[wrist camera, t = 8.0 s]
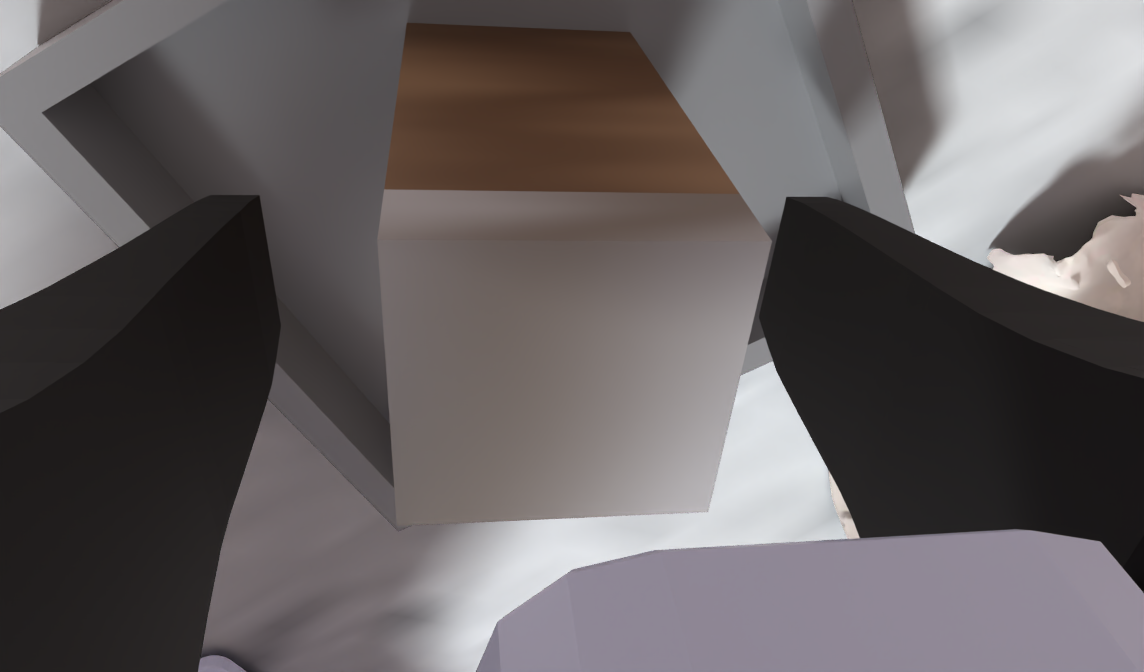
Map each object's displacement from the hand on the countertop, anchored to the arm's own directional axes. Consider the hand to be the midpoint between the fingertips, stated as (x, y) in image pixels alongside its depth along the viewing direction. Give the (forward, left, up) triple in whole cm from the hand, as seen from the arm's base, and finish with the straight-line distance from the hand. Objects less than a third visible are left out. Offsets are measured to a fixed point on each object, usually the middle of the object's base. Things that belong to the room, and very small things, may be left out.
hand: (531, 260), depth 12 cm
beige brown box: (0, 0, -3) cm, 3 cm away
